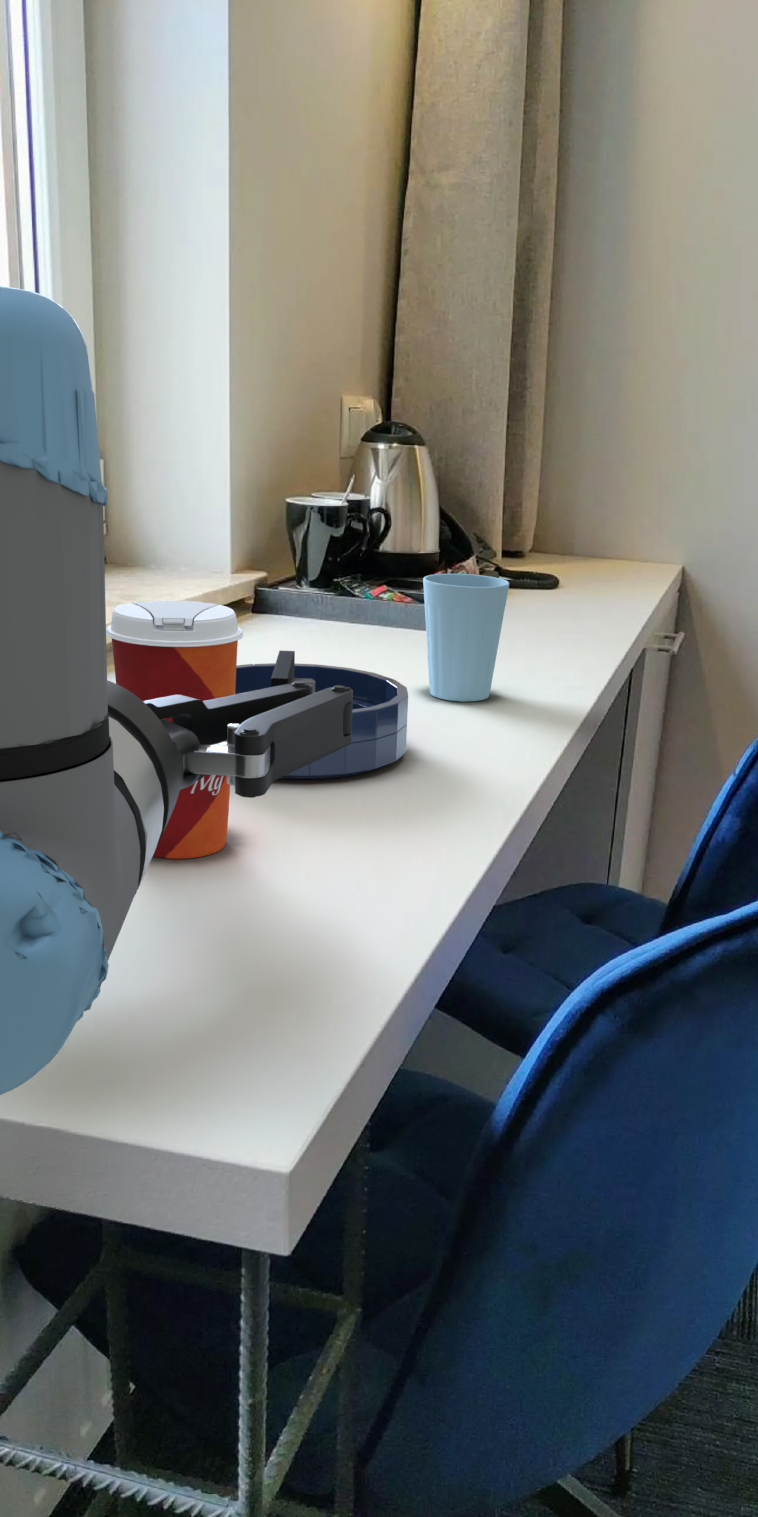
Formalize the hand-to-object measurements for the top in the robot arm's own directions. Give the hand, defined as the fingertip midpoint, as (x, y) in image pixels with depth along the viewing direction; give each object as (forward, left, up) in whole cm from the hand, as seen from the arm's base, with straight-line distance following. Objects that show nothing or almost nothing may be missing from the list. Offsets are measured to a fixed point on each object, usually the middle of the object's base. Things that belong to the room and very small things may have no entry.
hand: (150, 672), depth 64 cm
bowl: (+6, +31, -13) cm, 34 cm away
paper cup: (0, +10, -13) cm, 16 cm away
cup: (+20, +52, -13) cm, 57 cm away
